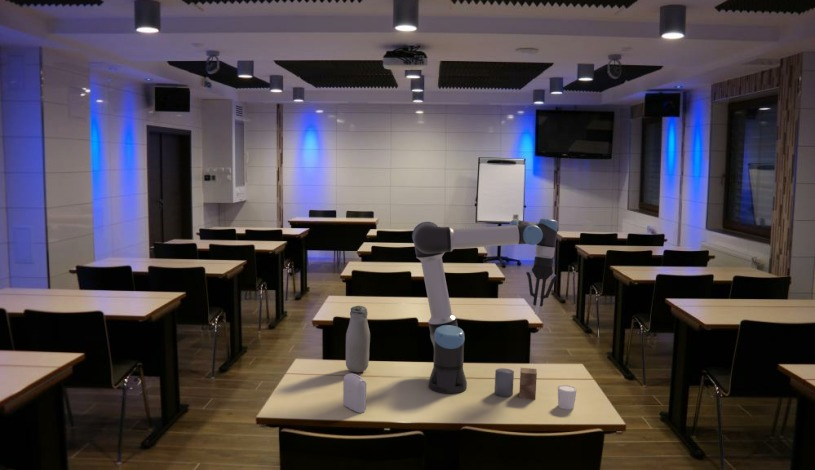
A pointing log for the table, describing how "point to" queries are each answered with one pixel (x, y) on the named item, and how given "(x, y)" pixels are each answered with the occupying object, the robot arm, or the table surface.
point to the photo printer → (354, 392)
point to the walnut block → (528, 383)
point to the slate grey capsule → (504, 382)
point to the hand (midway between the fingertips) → (536, 313)
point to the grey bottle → (357, 340)
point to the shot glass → (566, 396)
